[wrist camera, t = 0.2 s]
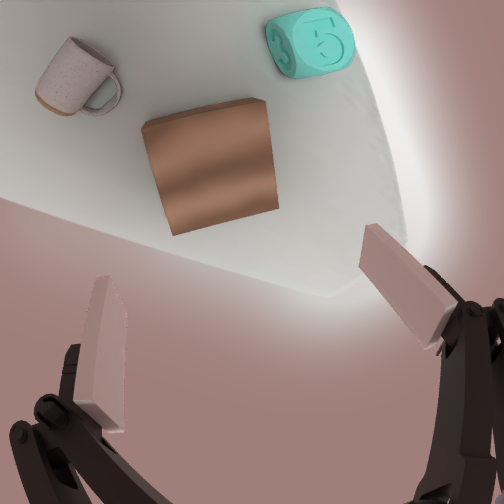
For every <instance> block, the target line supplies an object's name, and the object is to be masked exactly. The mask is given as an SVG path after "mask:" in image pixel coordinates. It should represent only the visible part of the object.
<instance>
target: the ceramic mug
mask: <svg viewBox="0 0 504 504" xmlns="http://www.w3.org/2000/svg"><path fill="white" fill-rule="evenodd" d="M114 69H115V66H114V65H113V63H112V62H111V61H110V60H109V59H108V58H107V57H105V56H104V55H103V54H102V53H101V52H99V51H98V50H96V49H95V48H94V47H92V46H91V45H89V44H87V43H86V42H84V41H82V40H80V39H78V38H75V37H69V38H68V39H67V40H66V41H65V43H64V44H63V45H62V47H61V48H60V50H59V51H58V53H57V54H56V55H55V57H54V58H53V60H52V61H51V63H50V64H49V66H48V67H47V69H46V71H45V72H44V73H43V75H42V77H41V78H40V80H39V82H38V84H37V87H36V90H35V95H36V98H37V99H38V101H39V102H40V103H41V104H42V105H43V106H44V107H45V108H47V109H48V110H50V111H52V112H54V113H56V114H59V115H62V116H70V115H74V114H75V113H76V112H77V111H78V110H81V111H82V112H84V113H85V114H88V115H93V116H98V115H102V114H105V113H107V112H108V111H110V110H111V109H112V108H113V107H114V106H115V105H116V104H117V103H118V101H119V99H120V96H121V87H120V84H119V81H118V79H117V78H116V76H115V75H114V74H113V73H112V71H113V70H114ZM107 77H111V78H112V79H113V80H114V82H115V84H116V86H117V93H116V95H115V96H114V97H113V98H112V99H111V100H110V101H109V102H108V103H107V104H106V105H104V106H103V107H102V109H97V110H93V109H89V108H86V107H84V106H83V105H84V104H85V103H86V102H87V100H88V99H89V97H90V96H91V95H92V94H93V93H94V91H95V90H96V89H97V88H98V87H99V86H100V85H101V84H102V82H103V81H104V80H105V79H106V78H107Z"/></svg>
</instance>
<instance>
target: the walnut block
mask: <svg viewBox="0 0 504 504" xmlns="http://www.w3.org/2000/svg"><path fill="white" fill-rule="evenodd" d="M141 131H142V135H143V139H144V142H145V146H146V150H147V153H148V157H149V160H150V164H151V167H152V171H153V174H154V178H155V181H156V184H157V188H158V191H159V194H160V198H161V201H162V204H163V207H164V210H165V214H166V217H167V220H168V223H169V226H170V229H171V232H172V235H173V236H175V235H179V234H182V233H186V232H190V231H193V230H197V229H201V228H205V227H208V226H212V225H216V224H220V223H224V222H228V221H231V220H235V219H239V218H243V217H247V216H251V215H255V214H259V213H263V212H267V211H271V210H275V209H279V203H278V195H277V186H276V178H275V170H274V162H273V154H272V146H271V138H270V131H269V123H268V116H267V109H266V102H265V101H263V100H260V99H256V98H247V99H241V100H236V101H230V102H225V103H220V104H215V105H210V106H206V107H201V108H197V109H193V110H189V111H184V112H180V113H177V114H173V115H169V116H165V117H162V118H158V119H155V120H151V121H148V122H145V124H144V126H143V127H142V129H141Z"/></svg>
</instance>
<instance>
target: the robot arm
mask: <svg viewBox="0 0 504 504" xmlns="http://www.w3.org/2000/svg"><path fill="white" fill-rule="evenodd" d="M359 268H360V269H361V270H362V271H363V272H364V273H365V275H366V276H367V277H368V278H369V279H370V281H371V282H372V283H373V284H374V285H375V287H376V288H377V289H378V290H379V292H380V293H381V294H382V295H383V297H384V298H385V299H386V300H387V301H388V303H389V304H390V305H391V307H392V308H393V309H394V310H395V312H396V313H397V314H398V315H399V317H400V318H401V319H402V321H403V322H404V323H405V325H406V326H407V327H408V328H409V330H410V331H411V332H412V334H413V335H414V336H415V338H416V339H417V340H418V342H419V343H420V344H421V346H422V347H423V348H424V350H426V349H428V348H430V347H432V346H434V345H436V343H437V342H438V340H439V338H440V336H442V338H443V339H444V341H443V343H442V345H441V346H440V348H439V350H438V351H437V354H436V356H438V355H439V354H440V352H441V351H442V355H441V357H442V359H441V376H440V388H439V398H438V407H437V415H436V422H435V428H434V434H433V440H432V446H431V450H430V455H429V460H428V465H427V469H426V472H425V475H424V477H423V478H422V480H421V481H420V483H419V485H418V487H417V489H416V492H415V495H414V499H413V501H410V502H407V503H405V504H447V501H448V500H449V498H450V501H449V504H491V501H492V496H493V491H494V485H495V479H496V472H497V473H498V480H499V484H500V489H501V492H502V494H501V495H499V496H498V497H497V498H496V501H495V504H504V299H503V298H497V299H496V300H495V301H494V302H493V304H492V306H491V307H482V306H481V305H479V304H478V303H476V302H473V301H467V302H465V301H464V300H463V299H462V298H461V297H460V295H459V294H458V293H457V292H456V291H455V290H454V289H453V288H452V287H451V286H450V285H449V284H448V283H446V281H445V280H444V279H443V278H441V276H440V275H439V274H438V273H437V272H436V271H435V270H433V269H432V268H430V267H428V266H426V265H425V266H422V265H421V264H420V263H419V262H418V261H417V260H416V259H415V258H414V257H413V256H412V255H411V254H410V253H409V252H408V251H407V250H406V249H405V248H404V247H402V246H401V245H400V244H399V243H398V242H397V241H396V240H395V239H394V238H393V237H392V236H390V235H389V234H388V233H387V232H386V231H385V230H384V229H383V228H382V227H380V226H379V225H378V224H377V223H376V224H370V225H365V232H364V239H363V245H362V251H361V257H360V262H359ZM127 319H128V315H127V313H126V311H125V309H124V307H123V304H122V302H121V300H120V298H119V296H118V293H117V291H116V289H115V287H114V284H113V282H112V279H111V277H110V275H108V276H104V277H98V278H96V279H95V283H94V287H93V291H92V295H91V299H90V303H89V307H88V312H87V317H86V321H85V326H84V331H83V336H82V342H81V344H74V345H71V346H70V348H69V349H68V351H67V353H66V355H65V360H64V367H63V370H62V376H61V383H60V390H59V396H56V395H54V394H46V395H44V396H42V397H41V398H40V399H39V400H38V401H37V402H36V405H35V407H34V416H35V419H36V420H37V421H38V422H39V423H37V424H35V425H32V426H31V425H30V424H29V423H27V422H26V421H22V420H21V421H17V422H16V423H15V424H13V426H12V428H11V429H10V434H9V438H10V443H11V447H12V451H13V455H14V459H15V462H16V465H17V468H18V472H19V475H20V478H21V481H22V484H23V487H24V490H25V492H26V495H27V498H28V500H29V503H30V504H92V502H91V501H90V499H89V497H88V495H87V493H86V491H85V490H84V487H83V485H82V483H81V482H80V479H79V477H78V476H77V473H76V471H75V469H76V470H77V472H78V473H79V474H80V475H81V477H82V478H83V479H84V481H85V482H86V483H87V484H88V485H89V487H90V488H91V489H92V490H93V491H94V493H95V494H96V495H97V496H98V497H99V498H100V499H101V501H102V502H103V503H104V504H172V503H171V502H170V501H169V500H167V499H166V498H165V497H164V496H163V495H161V494H160V493H159V492H158V491H157V490H156V489H155V488H153V487H152V486H151V485H150V484H149V483H148V482H147V481H146V480H145V479H143V478H142V477H141V476H140V475H139V474H138V473H137V472H136V471H135V470H134V469H133V468H132V467H131V466H130V465H129V464H128V463H127V462H126V461H125V460H124V459H123V458H122V457H121V456H120V455H119V454H118V452H116V451H115V449H114V448H113V447H112V446H111V445H110V444H109V443H108V442H107V440H106V439H105V438H104V437H102V428H103V429H104V430H105V431H107V432H108V433H117V432H125V415H124V414H125V411H124V383H125V382H124V381H125V351H126V333H127ZM499 337H500V340H501V343H500V344H499V345H498V343H497V340H498V338H499ZM492 428H493V435H494V443H495V452H496V459H495V458H494V457H492V456H491V454H490V448H491V435H492ZM74 468H75V469H74Z"/></svg>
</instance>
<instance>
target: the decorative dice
mask: <svg viewBox="0 0 504 504" xmlns="http://www.w3.org/2000/svg"><path fill="white" fill-rule="evenodd" d="M266 38H267V42H268V46H269V49H270V52H271V54H272V56H273V58H274V60H275V62H276V64H277V66H278V67H279V69H280V70H281V71H282V72H283V73H284V74H285V75H286V76H287V77H289V78H292V79H298V78H306V77H312V76H317V75H322V74H326V73H331V72H334V71H338V70H341V69H344V68H347V67H348V66H349V65H350V63H351V62H352V60H353V57H354V54H355V40H354V36H353V33H352V30H351V28H350V26H349V25H348V23H347V21H346V20H345V19H344V17H343V16H342V15H340V14H339V13H338V12H337V11H335V10H334V9H332V8H330V7H320V8H313V9H308V10H303V11H299V12H295V13H291V14H287V15H284V16H281V17H278V18H275V19H272V20H270V21H269V22H268V24H267V27H266Z"/></svg>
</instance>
